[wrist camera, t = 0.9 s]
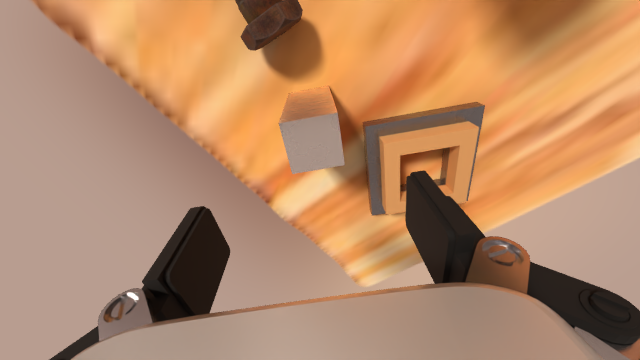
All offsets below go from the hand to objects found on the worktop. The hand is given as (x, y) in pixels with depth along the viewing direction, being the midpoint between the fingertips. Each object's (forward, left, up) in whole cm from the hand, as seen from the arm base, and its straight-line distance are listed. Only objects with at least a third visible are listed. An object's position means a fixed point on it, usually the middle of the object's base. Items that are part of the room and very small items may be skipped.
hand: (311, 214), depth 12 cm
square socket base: (-12, +9, -19) cm, 24 cm away
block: (0, 0, -19) cm, 19 cm away
